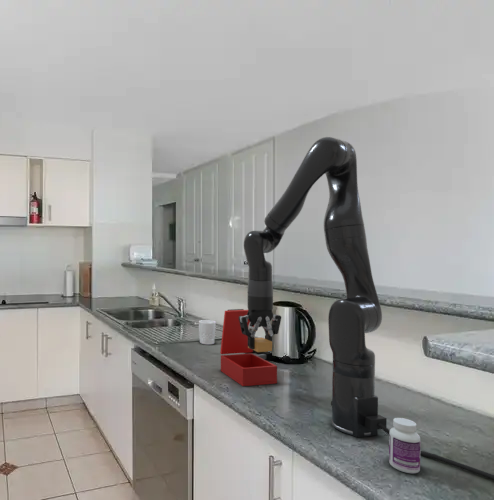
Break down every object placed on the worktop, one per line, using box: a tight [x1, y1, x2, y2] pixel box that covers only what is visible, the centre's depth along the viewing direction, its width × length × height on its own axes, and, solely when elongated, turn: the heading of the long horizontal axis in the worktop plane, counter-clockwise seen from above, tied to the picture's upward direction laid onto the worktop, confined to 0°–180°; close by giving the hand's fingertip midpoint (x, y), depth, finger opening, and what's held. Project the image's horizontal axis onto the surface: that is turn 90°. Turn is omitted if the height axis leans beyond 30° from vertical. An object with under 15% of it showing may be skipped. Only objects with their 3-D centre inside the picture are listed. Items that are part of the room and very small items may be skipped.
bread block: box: [248, 337, 273, 352], centre depth 124 cm, size 6×5×3 cm
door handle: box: [252, 350, 292, 363], centre depth 161 cm, size 3×20×16 cm
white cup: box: [198, 319, 217, 345], centre depth 184 cm, size 8×8×10 cm
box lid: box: [219, 308, 256, 355], centre depth 145 cm, size 17×13×5 cm
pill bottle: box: [388, 417, 422, 474], centre depth 83 cm, size 5×5×10 cm
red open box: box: [220, 352, 278, 387], centre depth 138 cm, size 16×13×6 cm
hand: (259, 347), depth 124 cm, fingers closed on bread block, 5 cm apart
